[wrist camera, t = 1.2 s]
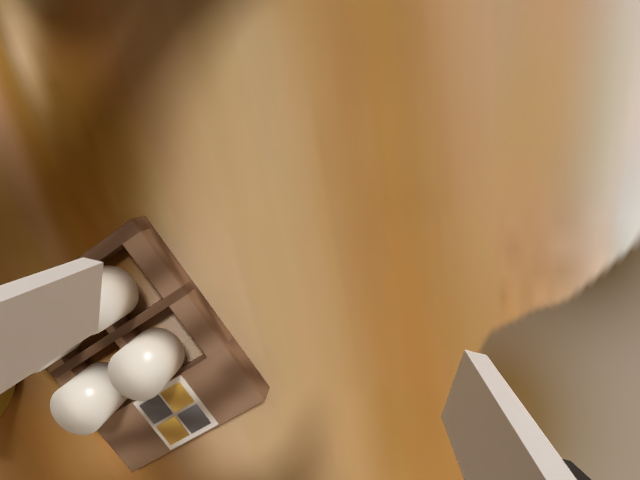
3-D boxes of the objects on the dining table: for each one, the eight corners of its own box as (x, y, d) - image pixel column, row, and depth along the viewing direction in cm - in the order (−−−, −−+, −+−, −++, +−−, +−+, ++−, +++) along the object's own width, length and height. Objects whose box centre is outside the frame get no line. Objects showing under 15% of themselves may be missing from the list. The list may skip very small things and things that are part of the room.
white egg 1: (77, 282, 36) (41, 297, 32) (115, 255, 35) (84, 267, 31) (110, 325, 37) (80, 345, 32) (149, 299, 36) (123, 317, 31)
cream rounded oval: (72, 376, 38) (38, 401, 34) (108, 353, 37) (78, 376, 33) (103, 414, 39) (74, 443, 35) (139, 393, 38) (114, 420, 34)
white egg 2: (124, 343, 37) (96, 365, 33) (163, 318, 36) (139, 337, 32) (155, 383, 38) (132, 410, 33) (195, 360, 37) (175, 384, 32)
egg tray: (20, 305, 41) (-2, 314, 38) (144, 216, 37) (129, 219, 35) (143, 456, 44) (130, 474, 41) (269, 387, 40) (264, 402, 38)
